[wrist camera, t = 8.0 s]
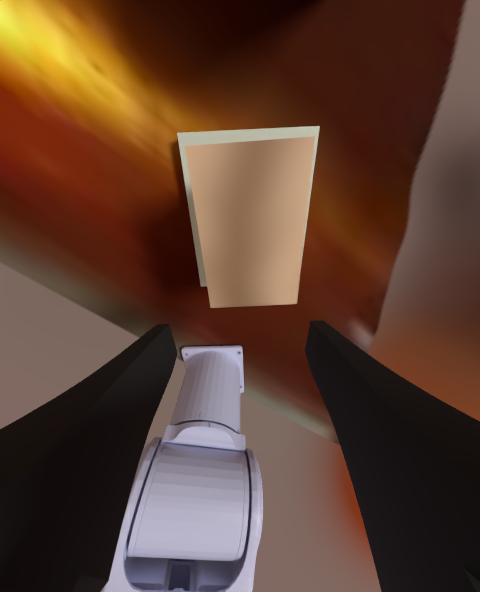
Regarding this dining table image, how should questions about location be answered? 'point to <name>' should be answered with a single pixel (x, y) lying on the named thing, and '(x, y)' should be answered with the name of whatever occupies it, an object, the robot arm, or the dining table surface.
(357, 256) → the dining table surface
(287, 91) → the dining table surface
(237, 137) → the board
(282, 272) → the stool
